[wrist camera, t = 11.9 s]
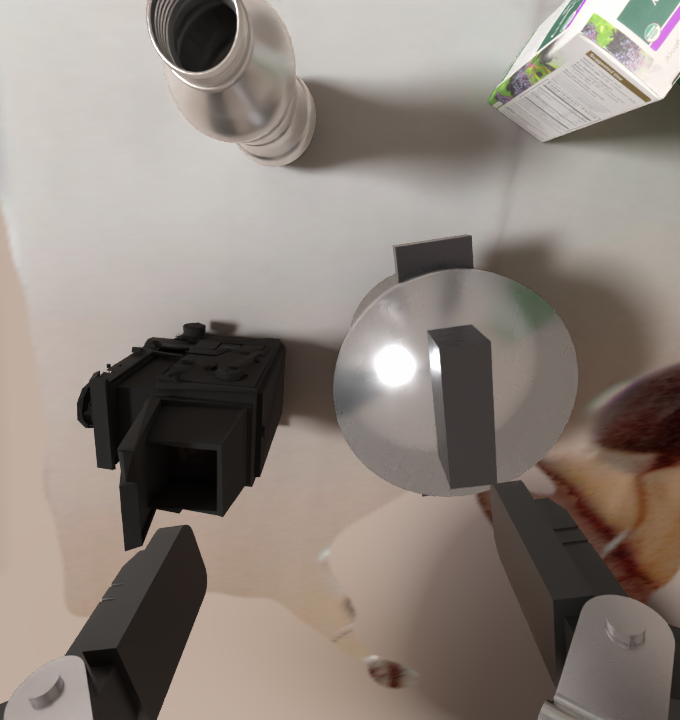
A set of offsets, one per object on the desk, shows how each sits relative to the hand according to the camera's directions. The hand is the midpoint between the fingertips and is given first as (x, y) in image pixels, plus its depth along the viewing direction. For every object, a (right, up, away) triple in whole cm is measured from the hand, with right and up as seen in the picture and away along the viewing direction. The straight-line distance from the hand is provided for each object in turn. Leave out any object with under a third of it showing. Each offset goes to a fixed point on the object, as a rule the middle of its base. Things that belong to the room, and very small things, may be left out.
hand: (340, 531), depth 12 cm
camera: (-12, +3, +31) cm, 33 cm away
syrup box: (+15, +25, +23) cm, 38 cm away
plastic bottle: (-5, +23, +24) cm, 34 cm away
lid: (+8, +3, +19) cm, 20 cm away
